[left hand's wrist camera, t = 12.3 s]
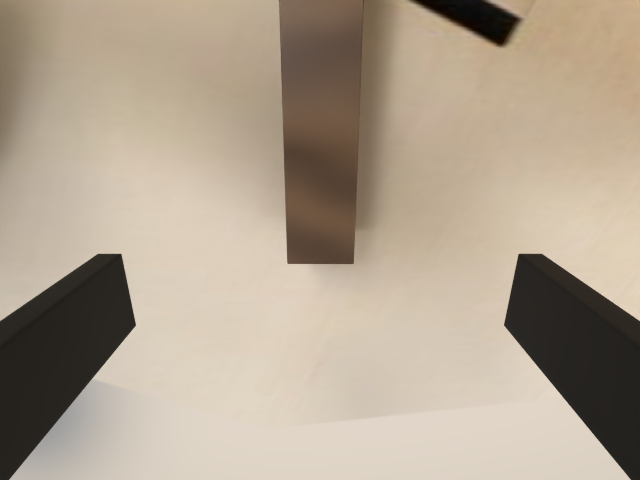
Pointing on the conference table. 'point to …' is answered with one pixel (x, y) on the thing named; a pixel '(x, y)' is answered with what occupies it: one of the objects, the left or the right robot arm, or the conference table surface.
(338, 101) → the beam
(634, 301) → the conference table surface
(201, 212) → the conference table surface
